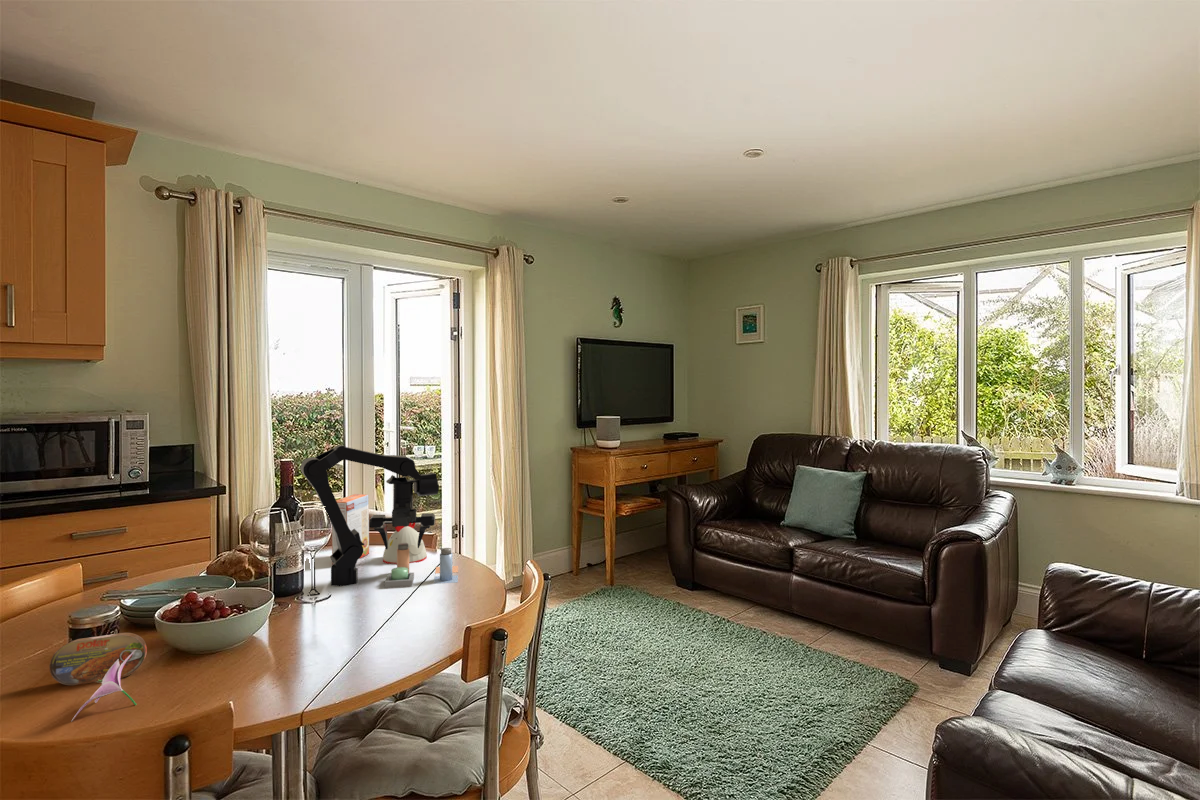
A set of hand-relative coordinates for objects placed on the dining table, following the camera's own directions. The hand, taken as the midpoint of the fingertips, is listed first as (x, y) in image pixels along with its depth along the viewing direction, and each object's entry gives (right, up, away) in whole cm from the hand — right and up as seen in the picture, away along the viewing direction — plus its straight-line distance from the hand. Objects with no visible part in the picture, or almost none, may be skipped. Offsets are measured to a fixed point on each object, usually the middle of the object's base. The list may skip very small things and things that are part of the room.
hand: (402, 548), depth 187 cm
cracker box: (-23, -8, +19) cm, 31 cm away
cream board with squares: (+8, -9, -2) cm, 12 cm away
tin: (-39, -10, -66) cm, 77 cm away
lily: (-28, -10, -77) cm, 82 cm away
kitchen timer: (-5, -9, +17) cm, 19 cm away
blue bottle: (+15, -8, -6) cm, 18 cm away
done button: (+2, -7, -10) cm, 12 cm away
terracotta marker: (0, -8, 0) cm, 8 cm away
